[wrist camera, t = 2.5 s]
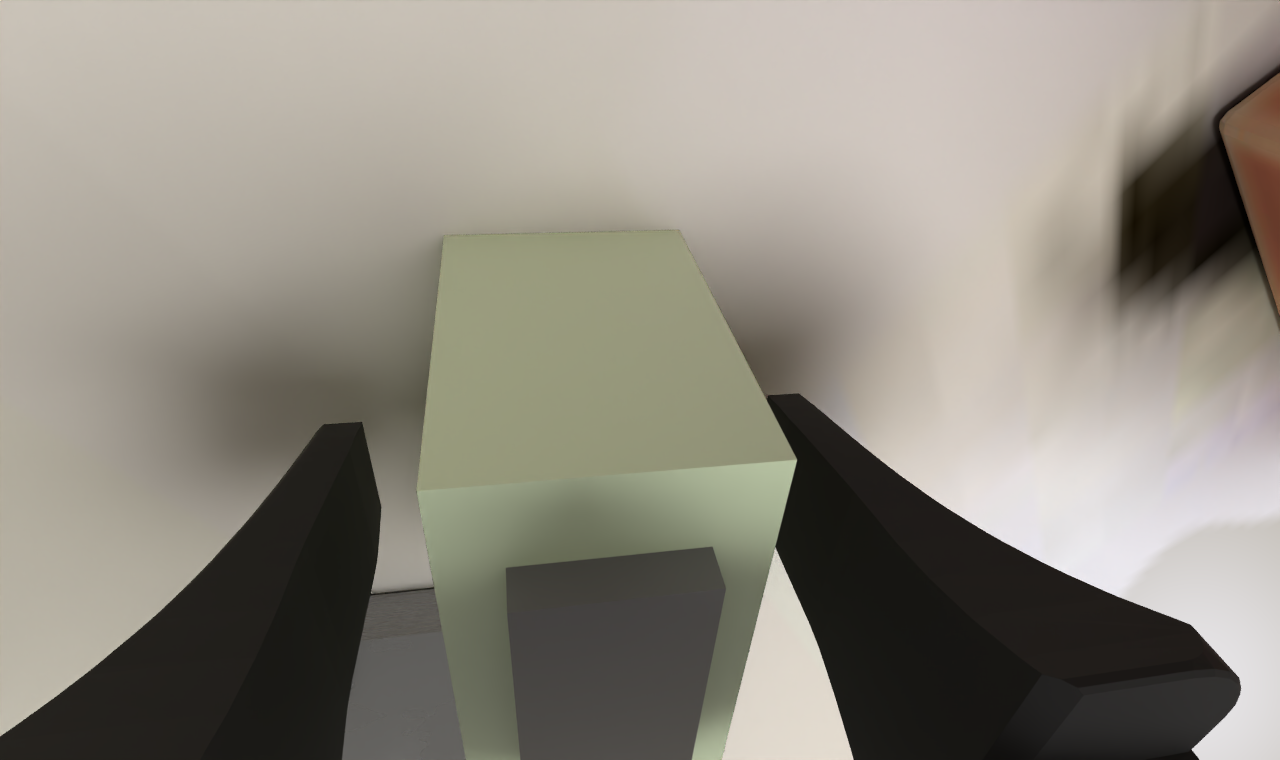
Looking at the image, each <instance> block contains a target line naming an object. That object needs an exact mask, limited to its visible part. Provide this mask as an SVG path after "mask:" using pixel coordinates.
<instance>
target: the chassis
mask: <svg viewBox="0 0 1280 760" xmlns="http://www.w3.org/2000/svg"><path fill="white" fill-rule="evenodd" d="M342 760H466V757H465V752H464V747H463V741H462V736H461V730H460V725H459V719H458V714H457V709H456V703H455V698H454V692H453V687H452V681H451V676H450V671H449V665H448V660H447V654H446V649H445V643H444V638H443V633H442V627H441V622H440V616H439V611H438V605H437V600H436V595H435V589H427V590H418V591H408V592H399V593H389V594H380V595H371V596H370V599H369V604H368V608H367V613H366V618H365V622H364V627H363V632H362V637H361V641H360V646H359V651H358V655H357V660H356V665H355V670H354V674H353V679H352V684H351V690H350V696H349V702H348V708H347V717H346V727H345V736H344V745H343V755H342Z"/></svg>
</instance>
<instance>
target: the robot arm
mask: <svg viewBox="0 0 1280 760" xmlns="http://www.w3.org/2000/svg"><path fill="white" fill-rule="evenodd" d="M767 402H768V404H769V406H770V408H771V410H772V412H773V414H774V416H775V418H776V420H777V422H778V424H779V425H780V427H781V429H782V431H783V433H784V435H785V437H786V439H787V441H788V443H789V445H790V447H791V449H792V451H793V453H794V455H795V457H796V459H797V462H796V466H795V470H794V474H793V478H792V482H791V486H790V490H789V494H788V498H787V502H786V506H785V510H784V514H783V518H782V522H781V526H780V530H779V534H778V538H777V542H776V546H775V547H776V549H777V552H778V554H779V556H780V559H781V561H782V563H783V565H784V568H785V570H786V572H787V574H788V577H789V579H790V581H791V583H792V585H793V588H794V590H795V592H796V594H797V597H798V599H799V601H800V603H801V606H802V608H803V610H804V612H805V615H806V617H807V619H808V621H809V623H810V626H811V628H812V631H813V633H814V636H815V639H816V641H817V644H818V646H819V649H820V652H821V655H822V658H823V661H824V664H825V667H826V670H827V673H828V676H829V679H830V683H831V686H832V689H833V692H834V695H835V698H836V701H837V705H838V708H839V711H840V715H841V718H842V721H843V725H844V728H845V731H846V735H847V738H848V741H849V744H850V748H851V751H852V755H853V759H854V760H1199V759H1198V757H1197V756H1196V755H1195V754H1194V752H1193V751H1192V750H1191V749H1192V748H1193V747H1194V746H1195V745H1197V744H1198V743H1199V741H1201V740H1202V739H1203V738H1204V737H1205V736H1206V735H1207V734H1208V733H1209V732H1210V731H1211V730H1212V729H1213V728H1214V727H1215V726H1216V725H1217V724H1218V723H1219V722H1220V721H1221V720H1222V719H1223V718H1224V717H1225V716H1226V715H1227V714H1228V713H1229V712H1230V711H1231V709H1232V708H1233V707H1234V706H1235V704H1236V702H1237V700H1238V698H1239V695H1240V691H1241V685H1240V680H1239V677H1238V676H1237V675H1236V674H1235V673H1234V672H1233V671H1232V670H1231V669H1230V667H1229V666H1228V665H1227V664H1226V663H1225V662H1224V661H1223V660H1222V658H1221V657H1219V655H1218V654H1217V653H1216V652H1215V651H1214V650H1213V649H1212V648H1211V646H1209V644H1208V643H1207V642H1206V641H1205V640H1204V639H1203V638H1202V637H1201V636H1200V634H1199V633H1198V632H1197V631H1196V630H1195V629H1194V628H1193V627H1192V626H1191V625H1190V624H1187V623H1185V622H1182V621H1179V620H1177V619H1174V618H1172V617H1169V616H1166V615H1164V614H1161V613H1159V612H1156V611H1153V610H1151V609H1148V608H1145V607H1143V606H1140V605H1137V604H1135V603H1133V602H1130V601H1127V600H1125V599H1122V598H1119V597H1117V596H1115V595H1112V594H1110V593H1108V592H1105V591H1103V590H1101V589H1099V588H1096V587H1094V586H1092V585H1090V584H1087V583H1085V582H1083V581H1081V580H1078V579H1076V578H1074V577H1072V576H1069V575H1067V574H1065V573H1063V572H1061V571H1059V570H1057V569H1055V568H1053V567H1051V566H1048V565H1046V564H1044V563H1042V562H1040V561H1038V560H1036V559H1035V558H1033V557H1031V556H1029V555H1027V554H1025V553H1023V552H1021V551H1019V550H1017V549H1016V548H1014V547H1012V546H1010V545H1008V544H1006V543H1004V542H1002V541H1001V540H999V539H997V538H995V537H994V536H992V535H990V534H988V533H986V532H985V531H983V530H981V529H980V528H978V527H976V526H975V525H973V524H972V523H970V522H968V521H967V520H965V519H963V518H962V517H960V516H959V515H957V514H955V513H954V512H952V511H951V510H949V509H947V508H946V507H944V506H943V505H941V504H940V503H938V502H937V501H935V500H934V499H932V498H931V497H929V496H928V495H927V494H925V493H924V492H922V491H921V490H920V489H918V488H917V487H915V486H914V485H913V484H911V483H910V482H909V481H907V480H906V479H904V478H903V477H902V476H900V475H899V474H898V473H896V472H895V471H894V470H892V469H891V468H890V467H888V466H887V465H886V464H885V463H883V462H882V461H881V460H879V459H878V458H877V457H876V456H874V455H873V454H872V453H871V452H869V451H868V450H867V449H866V448H864V447H863V446H862V445H861V444H859V443H858V442H857V441H856V440H855V439H853V438H852V437H851V436H850V435H849V434H847V433H846V432H845V431H844V430H843V429H841V428H840V427H839V426H838V425H837V424H835V423H834V422H833V421H832V420H831V419H829V418H828V417H827V416H826V415H825V414H824V413H822V412H821V411H820V410H819V409H818V408H816V407H815V406H814V405H813V404H811V403H810V402H809V401H808V400H807V399H805V398H804V397H803V396H801V395H800V394H784V395H769V396H768V397H767ZM380 519H381V504H380V499H379V495H378V490H377V486H376V482H375V477H374V473H373V468H372V464H371V460H370V455H369V451H368V447H367V442H366V438H365V433H364V429H363V425H362V422H354V423H338V424H324V425H323V426H322V427H321V428H320V429H319V430H318V431H317V432H316V434H315V435H314V436H313V438H312V439H311V440H310V442H309V443H308V445H307V446H306V447H305V449H304V450H303V451H302V453H301V454H300V455H299V457H298V458H297V459H296V461H295V462H294V463H293V465H292V466H291V467H290V469H289V470H288V471H287V473H286V474H285V475H284V476H283V478H282V479H281V480H280V482H279V483H278V484H277V485H276V487H275V488H274V489H273V490H272V492H271V493H270V494H269V495H268V496H267V498H266V499H265V500H264V501H263V503H262V504H261V505H260V506H259V508H258V509H257V510H256V511H255V512H254V514H253V515H252V516H251V517H250V518H249V520H248V521H247V522H246V523H245V524H244V525H243V527H242V528H241V529H240V530H239V531H238V532H237V533H236V534H235V535H234V536H233V538H232V539H231V540H230V541H229V542H228V543H227V544H226V545H225V546H224V548H223V549H222V550H221V551H220V552H219V553H218V554H217V555H216V556H215V558H214V559H213V560H212V561H211V562H210V563H209V564H208V565H207V566H206V567H205V568H204V569H203V570H202V571H201V572H200V573H199V574H198V575H197V576H196V577H195V578H194V579H193V580H192V581H191V582H190V583H189V584H188V585H187V586H186V587H185V588H184V589H183V590H182V591H181V592H180V593H179V594H178V595H177V596H176V597H175V598H174V599H173V600H172V601H171V602H170V603H168V604H167V605H166V606H165V607H164V608H163V609H162V610H161V611H160V612H159V613H158V614H157V615H156V616H154V617H153V618H152V619H151V620H150V621H149V622H148V623H146V624H145V625H144V626H143V627H142V628H141V629H140V630H138V631H137V632H136V633H135V634H134V635H132V636H131V637H130V638H129V639H128V640H126V641H125V642H124V643H123V644H122V645H120V646H119V647H118V648H117V649H116V650H114V651H113V652H112V653H111V654H110V655H108V656H107V657H106V658H105V659H104V660H102V661H101V662H100V663H99V664H98V665H96V666H95V667H94V668H93V669H91V670H90V671H89V672H88V673H86V674H85V675H84V676H83V677H81V678H80V679H79V680H77V681H76V682H75V683H73V684H72V685H71V686H69V687H68V688H67V689H65V690H64V691H63V692H61V693H60V694H59V695H57V696H56V697H55V698H54V699H52V700H51V701H49V702H48V703H47V704H45V705H44V706H42V707H41V708H40V709H38V710H37V711H36V712H34V713H33V714H31V715H30V716H29V717H27V718H26V719H24V720H23V721H22V722H20V723H19V724H18V725H16V726H15V727H13V728H12V729H10V730H9V731H8V732H6V733H5V734H3V735H2V736H0V760H342V755H343V745H344V736H345V727H346V717H347V708H348V702H349V696H350V690H351V684H352V679H353V674H354V670H355V665H356V660H357V655H358V651H359V646H360V641H361V637H362V632H363V627H364V622H365V618H366V613H367V608H368V604H369V599H370V594H371V589H372V584H373V579H374V574H375V569H376V564H377V557H378V546H379V534H380Z"/></svg>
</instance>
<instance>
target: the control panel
mask: <svg viewBox="0 0 1280 760" xmlns="http://www.w3.org/2000/svg"><path fill="white" fill-rule="evenodd" d="M1219 129H1220V132H1221V135H1222V138H1223V141H1224V145H1225V148H1226V151H1227V154H1228V157H1229V160H1230V163H1231V166H1232V169H1233V172H1234V176H1235V179H1236V182H1237V185H1238V188H1239V191H1240V194H1241V197H1242V200H1243V203H1244V207H1245V210H1246V213H1247V216H1248V219H1249V222H1250V225H1251V228H1252V231H1253V234H1254V238H1255V241H1256V244H1257V247H1258V250H1259V253H1260V256H1261V259H1262V262H1263V265H1264V269H1265V272H1266V275H1267V278H1268V281H1269V284H1270V287H1271V290H1272V293H1273V296H1274V300H1275V303H1276V306H1277V309H1278V312H1279V315H1280V73H1278V74H1277V75H1276V76H1274V77H1273V78H1272V79H1270V80H1269V81H1268V82H1266V83H1265V84H1264V85H1262V86H1261V87H1260V88H1258V89H1257V90H1256V91H1255V92H1253V93H1252V94H1251V95H1249V96H1248V97H1247V98H1245V99H1244V100H1243V101H1241V102H1240V103H1239V104H1237V105H1236V106H1235V107H1233V108H1232V109H1231V110H1229V111H1228V112H1227V113H1226V114H1225V115H1224V117H1223V118H1222V119H1221V121H1220V125H1219Z"/></svg>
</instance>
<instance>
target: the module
mask: <svg viewBox="0 0 1280 760" xmlns="http://www.w3.org/2000/svg"><path fill="white" fill-rule="evenodd" d="M796 462H797V459H796V457H795V455H794V453H793V451H792V449H791V447H790V445H789V443H788V441H787V439H786V437H785V435H784V433H783V431H782V429H781V427H780V425H779V424H778V422H777V420H776V418H775V416H774V414H773V412H772V410H771V408H770V406H769V404H768V402H767V400H766V398H765V396H764V394H763V392H762V390H761V388H760V387H759V385H758V383H757V381H756V379H755V377H754V375H753V373H752V371H751V369H750V367H749V365H748V363H747V361H746V359H745V357H744V355H743V353H742V352H741V350H740V348H739V346H738V344H737V342H736V340H735V338H734V336H733V334H732V332H731V330H730V328H729V326H728V324H727V322H726V320H725V318H724V316H723V315H722V313H721V311H720V309H719V307H718V305H717V303H716V301H715V299H714V297H713V295H712V293H711V291H710V289H709V287H708V285H707V283H706V281H705V279H704V278H703V276H702V274H701V272H700V270H699V268H698V266H697V264H696V262H695V260H694V258H693V256H692V254H691V252H690V250H689V248H688V246H687V244H686V243H685V241H684V239H683V237H682V235H681V233H680V231H679V230H652V231H609V232H566V233H522V234H479V235H444V240H443V249H442V258H441V267H440V277H439V286H438V295H437V305H436V314H435V323H434V332H433V342H432V351H431V360H430V370H429V379H428V388H427V397H426V407H425V416H424V425H423V435H422V444H421V453H420V463H419V472H418V481H417V490H416V492H417V497H418V502H419V508H420V513H421V519H422V524H423V530H424V535H425V540H426V546H427V551H428V557H429V562H430V568H431V573H432V578H433V584H434V589H435V595H436V600H437V605H438V611H439V616H440V622H441V627H442V633H443V638H444V643H445V649H446V654H447V660H448V665H449V671H450V676H451V681H452V687H453V692H454V698H455V703H456V709H457V714H458V719H459V725H460V730H461V736H462V741H463V747H464V752H465V757H466V760H722V756H723V752H724V748H725V744H726V740H727V736H728V732H729V728H730V724H731V720H732V716H733V712H734V708H735V704H736V700H737V696H738V692H739V689H740V685H741V681H742V677H743V673H744V669H745V665H746V661H747V657H748V653H749V649H750V645H751V641H752V637H753V633H754V629H755V625H756V621H757V617H758V613H759V609H760V605H761V601H762V597H763V593H764V589H765V585H766V581H767V577H768V573H769V569H770V565H771V561H772V558H773V554H774V550H775V546H776V542H777V538H778V534H779V530H780V526H781V522H782V518H783V514H784V510H785V506H786V502H787V498H788V494H789V490H790V486H791V482H792V478H793V474H794V470H795V466H796Z"/></svg>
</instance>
